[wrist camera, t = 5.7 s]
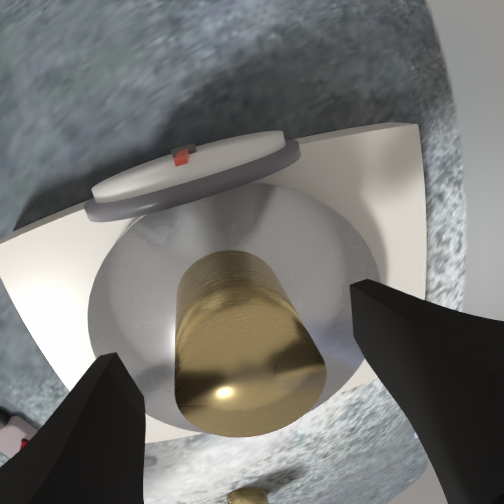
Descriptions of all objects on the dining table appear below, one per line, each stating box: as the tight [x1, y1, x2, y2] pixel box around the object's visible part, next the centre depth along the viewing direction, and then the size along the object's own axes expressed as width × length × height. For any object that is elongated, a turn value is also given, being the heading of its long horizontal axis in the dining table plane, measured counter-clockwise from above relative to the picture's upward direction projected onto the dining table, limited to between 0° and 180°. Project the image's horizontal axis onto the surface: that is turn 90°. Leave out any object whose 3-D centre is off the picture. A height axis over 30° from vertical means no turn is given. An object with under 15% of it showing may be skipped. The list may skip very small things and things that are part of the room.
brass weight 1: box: [174, 250, 327, 437], centre depth 10 cm, size 4×4×5 cm
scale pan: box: [87, 182, 381, 434], centre depth 14 cm, size 13×13×1 cm
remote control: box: [0, 410, 38, 458], centre depth 19 cm, size 7×16×3 cm, turn 35°
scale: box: [0, 122, 427, 444], centre depth 13 cm, size 20×15×7 cm
